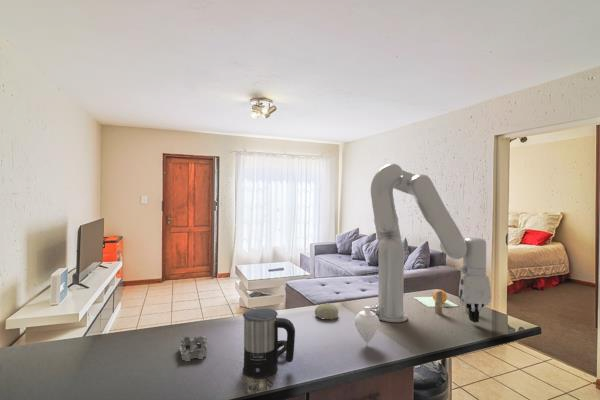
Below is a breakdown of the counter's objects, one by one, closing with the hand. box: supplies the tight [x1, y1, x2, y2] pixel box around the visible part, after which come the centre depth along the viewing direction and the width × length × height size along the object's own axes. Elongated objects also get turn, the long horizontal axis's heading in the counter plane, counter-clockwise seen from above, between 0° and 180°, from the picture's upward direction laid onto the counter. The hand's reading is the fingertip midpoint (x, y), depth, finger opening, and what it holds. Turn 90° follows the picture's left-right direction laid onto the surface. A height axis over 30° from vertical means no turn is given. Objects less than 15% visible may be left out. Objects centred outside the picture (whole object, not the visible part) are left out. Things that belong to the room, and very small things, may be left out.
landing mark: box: [413, 296, 459, 308], centre depth 146 cm, size 14×14×1 cm
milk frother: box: [242, 308, 296, 379], centre depth 89 cm, size 14×16×15 cm
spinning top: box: [354, 305, 381, 346], centre depth 100 cm, size 8×8×12 cm
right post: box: [464, 306, 469, 315], centre depth 132 cm, size 3×3×9 cm
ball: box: [432, 289, 448, 303], centre depth 144 cm, size 6×6×6 cm
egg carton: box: [179, 334, 208, 362], centre depth 94 cm, size 11×8×4 cm
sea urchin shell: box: [314, 302, 339, 320], centre depth 125 cm, size 9×8×8 cm
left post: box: [434, 289, 443, 315], centre depth 131 cm, size 3×3×9 cm
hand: (473, 321), depth 118 cm, fingers closed
